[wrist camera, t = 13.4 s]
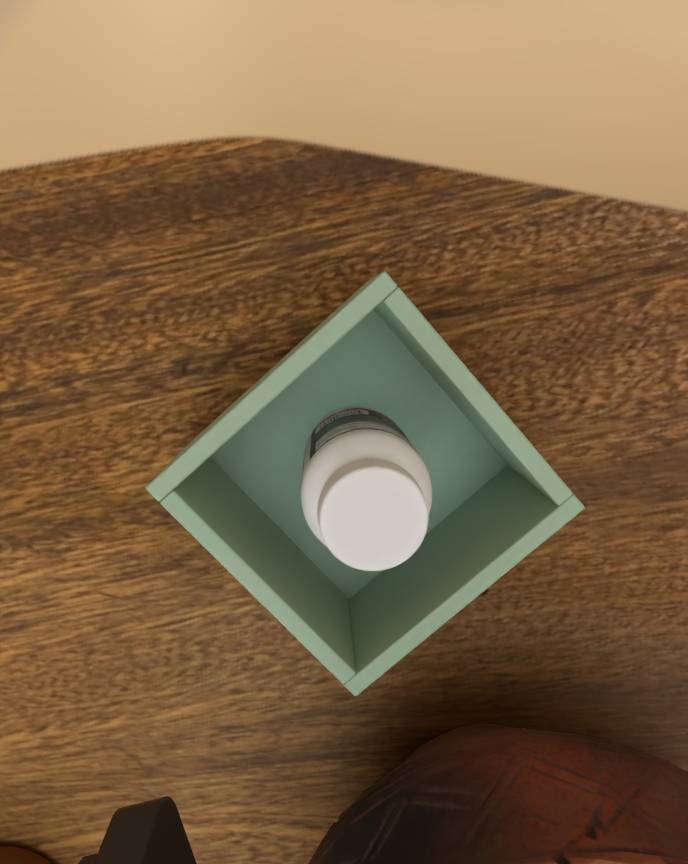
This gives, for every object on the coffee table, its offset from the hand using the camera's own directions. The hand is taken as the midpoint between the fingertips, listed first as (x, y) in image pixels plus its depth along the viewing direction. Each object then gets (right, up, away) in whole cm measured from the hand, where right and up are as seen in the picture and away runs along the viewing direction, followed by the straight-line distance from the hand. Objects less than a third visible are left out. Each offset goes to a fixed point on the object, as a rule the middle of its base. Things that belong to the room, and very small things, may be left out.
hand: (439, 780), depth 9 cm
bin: (-1, +4, +23) cm, 23 cm away
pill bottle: (-1, +4, +22) cm, 23 cm away
